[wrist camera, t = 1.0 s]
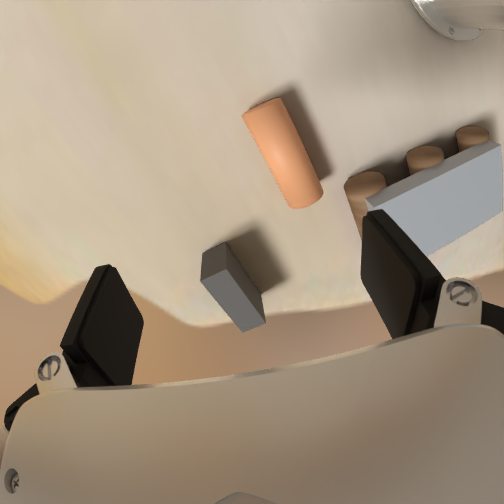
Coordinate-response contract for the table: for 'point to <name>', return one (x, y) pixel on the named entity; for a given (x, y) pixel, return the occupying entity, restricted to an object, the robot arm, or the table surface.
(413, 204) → the slab
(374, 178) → the roller
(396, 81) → the table surface
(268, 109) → the roller
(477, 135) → the roller
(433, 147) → the roller mid
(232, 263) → the block
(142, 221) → the table surface
